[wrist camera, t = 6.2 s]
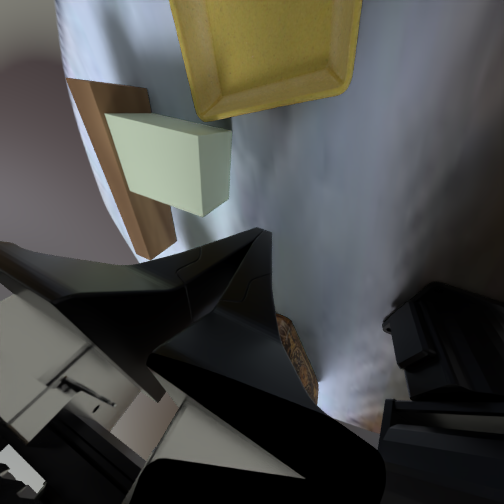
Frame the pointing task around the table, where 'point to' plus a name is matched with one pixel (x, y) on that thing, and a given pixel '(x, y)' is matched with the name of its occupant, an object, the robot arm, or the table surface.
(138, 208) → the board
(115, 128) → the block
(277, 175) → the table surface
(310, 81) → the yellow tray
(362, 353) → the table surface
